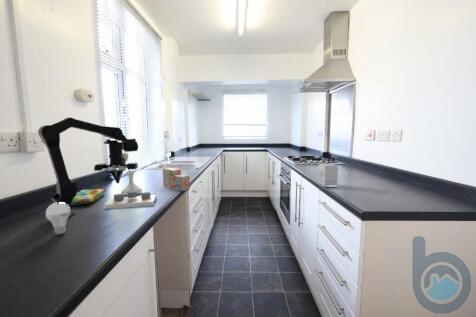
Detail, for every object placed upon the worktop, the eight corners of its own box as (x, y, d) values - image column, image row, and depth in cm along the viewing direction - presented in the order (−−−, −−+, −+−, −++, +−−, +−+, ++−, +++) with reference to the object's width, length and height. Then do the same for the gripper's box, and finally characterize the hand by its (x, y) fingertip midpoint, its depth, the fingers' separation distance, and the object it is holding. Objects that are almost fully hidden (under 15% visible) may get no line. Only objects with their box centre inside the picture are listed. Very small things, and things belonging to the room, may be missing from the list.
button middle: (136, 197, 114) (135, 193, 114) (126, 198, 113) (126, 193, 113) (137, 195, 118) (137, 190, 118) (129, 195, 117) (128, 191, 117)
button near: (122, 200, 113) (122, 195, 112) (112, 201, 112) (112, 196, 111) (124, 197, 117) (124, 193, 117) (115, 198, 116) (115, 194, 116)
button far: (149, 198, 116) (149, 194, 115) (140, 199, 115) (140, 194, 114) (151, 196, 120) (150, 191, 120) (142, 196, 119) (142, 192, 119)
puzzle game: (105, 187, 130) (90, 197, 111) (105, 195, 131) (91, 206, 112) (82, 188, 128) (63, 198, 109) (83, 196, 129) (64, 208, 109)
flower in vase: (137, 190, 140) (135, 151, 137) (145, 194, 132) (143, 152, 129) (115, 194, 131) (112, 152, 128) (122, 198, 123) (119, 153, 120)
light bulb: (52, 240, 76) (49, 206, 74) (44, 235, 79) (41, 203, 78) (76, 232, 82) (73, 201, 80) (67, 228, 85) (64, 198, 84)
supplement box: (330, 184, 155) (331, 163, 153) (337, 187, 146) (338, 165, 144) (317, 184, 154) (318, 163, 152) (324, 188, 145) (325, 165, 143)
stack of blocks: (190, 189, 142) (189, 170, 141) (181, 191, 138) (181, 172, 136) (171, 184, 156) (170, 167, 155) (163, 186, 152) (162, 168, 150)
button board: (153, 205, 112) (153, 201, 111) (104, 208, 107) (104, 204, 107) (156, 198, 123) (156, 194, 123) (112, 201, 118) (112, 197, 118)
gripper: (139, 150, 121) (140, 178, 123) (101, 151, 117) (103, 180, 119) (134, 152, 111) (136, 183, 113) (92, 153, 106) (95, 185, 108)
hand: (118, 183), depth 113 cm, fingers closed
